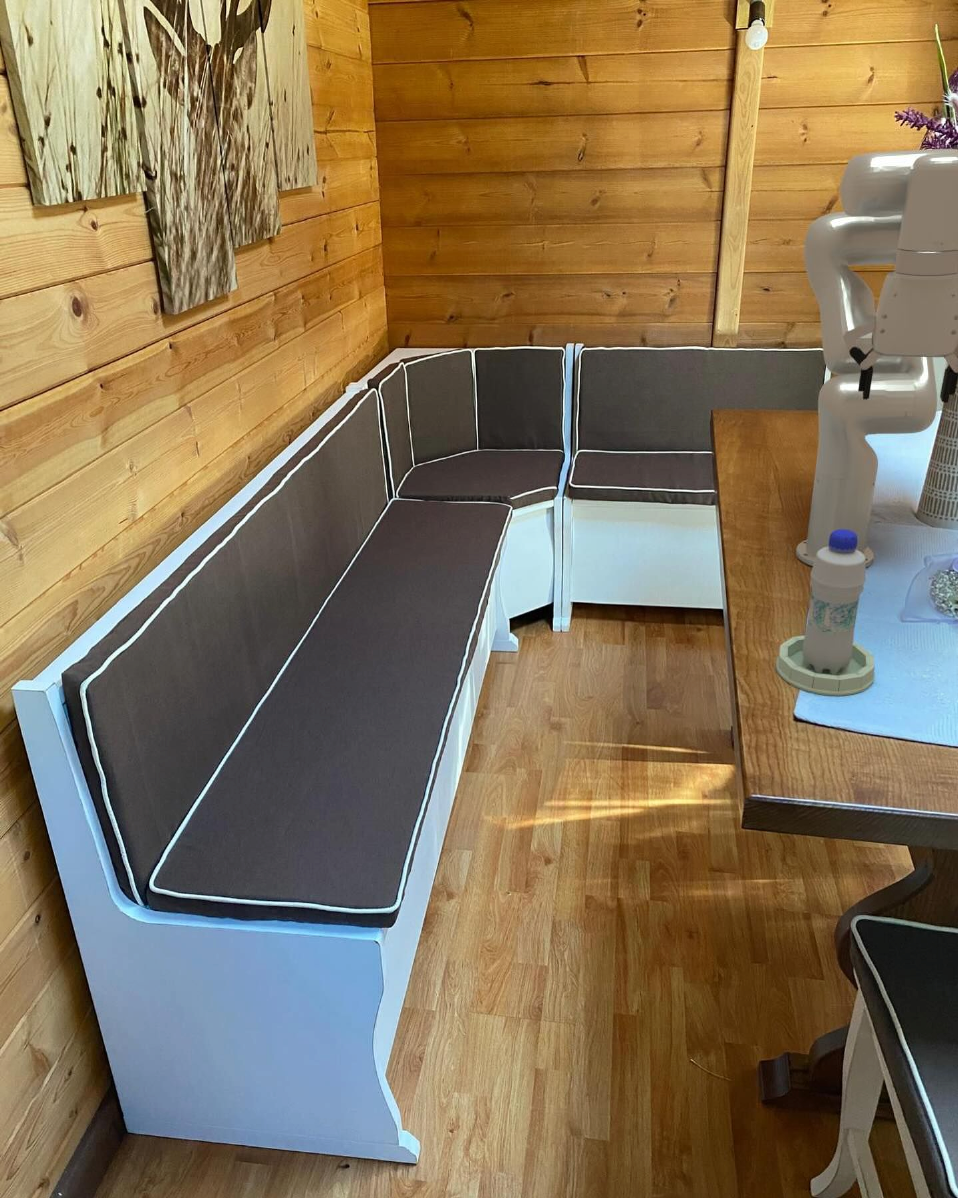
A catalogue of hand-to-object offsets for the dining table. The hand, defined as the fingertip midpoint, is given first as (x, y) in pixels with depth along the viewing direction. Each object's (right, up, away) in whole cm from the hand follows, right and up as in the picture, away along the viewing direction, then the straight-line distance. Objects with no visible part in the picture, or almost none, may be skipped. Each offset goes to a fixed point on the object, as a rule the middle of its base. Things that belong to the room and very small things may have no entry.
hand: (904, 398), depth 120 cm
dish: (-10, -37, +3) cm, 38 cm away
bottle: (-10, -36, +3) cm, 38 cm away
